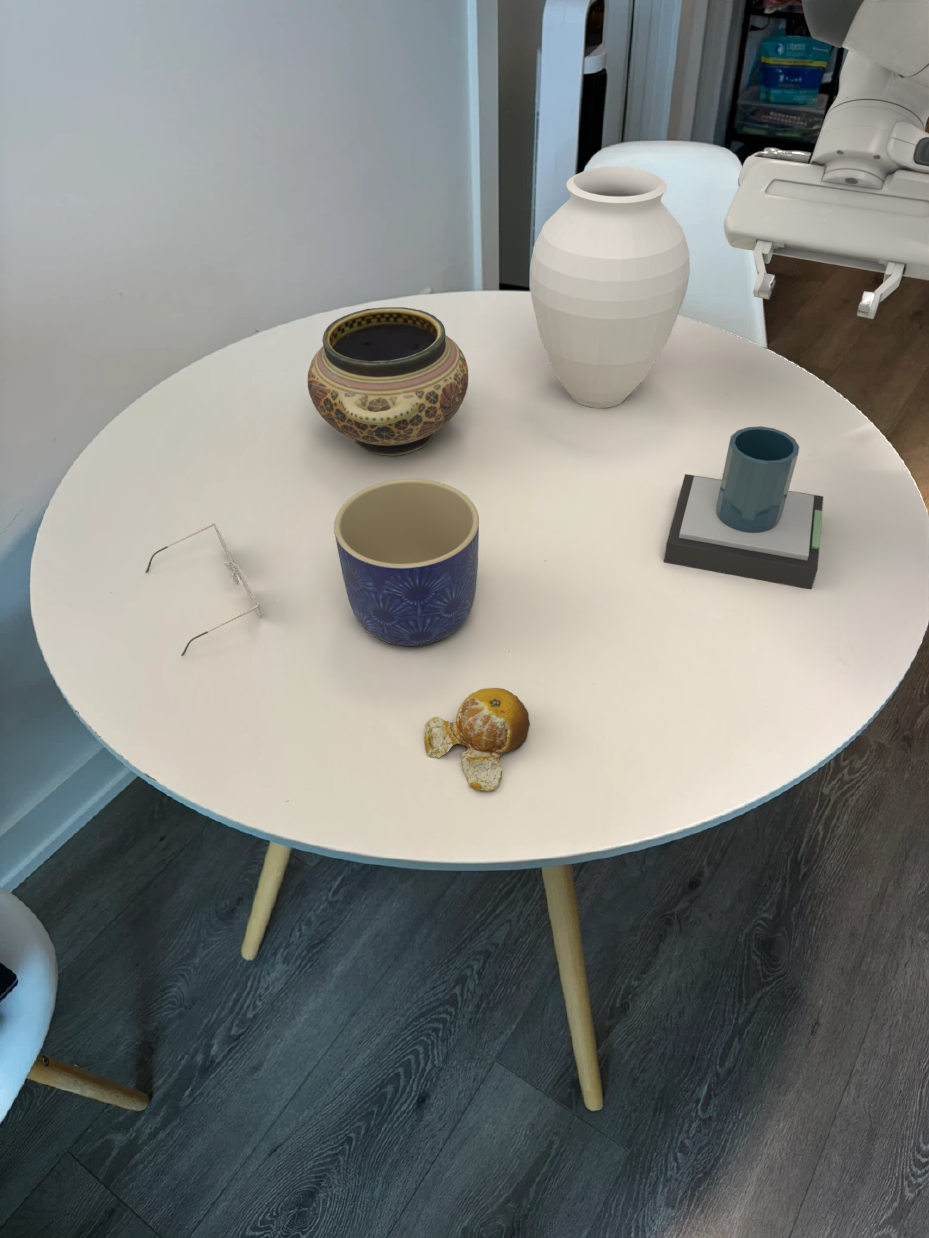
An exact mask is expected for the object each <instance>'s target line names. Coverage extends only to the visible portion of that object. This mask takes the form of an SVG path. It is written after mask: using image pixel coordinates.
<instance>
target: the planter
mask: <svg viewBox="0 0 929 1238" xmlns="http://www.w3.org/2000/svg"><path fill="white" fill-rule="evenodd" d="M333 524H334V525H333V532H334V537H335V542H336V548H337V552H338V559H339V564H340V568H341V574H342V579H343V583H344V587H345V592H346V595H347V598H348V602H349V605H350V607H351V610H352V613H353V615H354V617H355V619H356V621H357V622H358V623H359V625H360V626H361V627H362V628H363V629H364V630H365V631H366V632H368V633H369V634H370V635H371V636H373V637H374V638H377V639H379V640H380V641H383V642H386V643H389V644H392V645H398V646H405V647H406V646H410V647H412V646H414V647H415V646H423V645H428V644H432V643H436V642H438V641H440V640H443V639H446V638H447V637H449V636H450V635H452V634H453V633H455V631H457V630H458V629H459V628H460V627H461V626H463V624H464V623H465V621H466V620H467V619H468V617H469V615H470V613H471V611H472V608H473V605H474V602H475V597H476V591H477V582H478V567H479V542H480V541H479V539H480V538H479V537H480V535H479V533H480V532H479V531H480V516H479V512H478V510H477V507H476V505H475V504H474V503H473V501H472V500H471V499H470V498H469V497H468V496H467V495H466V494H465V493H463V492H462V491H460V490H459V489H457V488H456V487H453V486H452V485H449V484H446V483H443V482H440V481H436V480H435V481H434V480H430V479H423V478H402V479H401V478H400V479H393V480H388V481H383V482H380V483H376V484H374V485H373V484H372V485H371V486H368V487H366V488H364V489H362V490H360V491H358V492H357V493H355V494H354V495H352V496H351V497H350V498H348V499H346V501H345V502H344V503H343V504H342V506H341V507H340V508H339V510H338V511H337V514H336V516H335V519H334V523H333Z"/></svg>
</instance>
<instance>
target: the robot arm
mask: <svg viewBox="0 0 929 1238" xmlns="http://www.w3.org/2000/svg"><path fill="white" fill-rule="evenodd" d="M801 4H802V10H803V15H804V19H805V22H806V25H807V28H808V31H809V33H810V36H811V38H812V39H814V40H817V41H820V42H822V43H825V44H829V45H830V46H833V47H836V48H839V49H841V48H843V49H846V50H848V51H847V54H846V56H845V59H844V61H843V62H844V63H843V65H842V68H841V70H840V74H839V83H838V91H837V96H836V98H835V100H834V101H833V103H832V104H831V105H830V107H829V109H828V110H827V112H826V114H825V117H824V120H823V123H822V125H821V127H820V132H819V133H818V134H819V135H818V137H817V140H816V143H815V146H814V149H813V151H812V152H809V151H802V150H784V149H780V148H777V147H765V148H764V149H763V150H761V151H760V150H759V151H757V152H754V153H752V154H751V155H749V156H747V157H746V159H745V160H744V162H743V165H742V167H741V169H740V173H739V175H738V179H737V186H738V188H737V190H736V192H735V193H734V196H733V199H732V201H731V203H730V205H729V207H728V209H727V212H726V215H725V218H724V221H723V232H724V235H725V238H726V240H727V243H728V244H729V246H730V247H732V248H734V249H739V250H740V249H741V250H745V251H746V250H747V251H753V257H754V258H753V259H754V265H755V269H756V273H757V278H756V281H755V284H754V286H753V291H752V293H753V297H754V298H760V299H765V300H770V299H771V297H772V292H773V290H774V288H775V285H776V275H775V274H772V273H767V270H766V265H767V264H768V265H769V264H770V262H771V260H772V257H773V255H777V256H782V257H788V258H794V259H800V260H806V261H811V262H819V263H824V264H830V265H836V266H840V267H841V266H842V267H847V268H853V269H859V270H863V271H864V270H866V271H870V272H875V273H876V272H877V273H882V274H884V275H883V281H882V284H880V285H879V287H877V288H876V289H875V290H874V291H867V290H863V294H862V295H861V300H860V302H859V304H858V307H857V311H856V316H857V317H862V318H866V319H872V320H873V319H875V316H876V313H877V311H878V307H879V304H880V303H882V302H883V301H884V300H885V299H886V298H887V297H889V296H890V295H891V294H892V293H893V292H894V291H895V290H896V289H897V288H899V286H900V283H901V281H902V277H906V278H912V279H919V280H924V281H929V132H927V131H926V125H927V122H928V119H929V0H801ZM765 264H766V265H765Z"/></svg>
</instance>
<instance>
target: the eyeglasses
mask: <svg viewBox="0 0 929 1238" xmlns="http://www.w3.org/2000/svg"><path fill="white" fill-rule="evenodd" d="M212 527H214V530H215V532H216V535H217V537H218V539H219V542H220V545H221V546H222V549H223V551H224V553H225V556H226V557H227V558H228V560H229V561H224V562H223V565H224V566H225V568H226V569H227V570H228V571H229V572H232V571H233V570H234V572H232V573H231V575H230V577H231V579H232V582H233V584H235V585H236V586H240V581H241V583H242V585H243V587H244V590H245V592H246V594H247V596H248V598H249V600H250V601H251V603H252V605H253V606H252V608H250V609H248V610H246V611H244V612H241V613H240V614H238V615H235V616H234V617H232V618H230V619H228V620H226V621H224V622H223V623H221V624H218V625H216V626H215V627H213V628H211V629H209V630H207V631H205V632H202V633H200V634H198V635H196V636H194V637H192V638H191V639H190V640H189V641H188V642H187V644H186V645H185V647H184V650H183V652H182V653H181V655H180V656H181V657H182V656H184V655H186V652H187V650H188V648H189V646H190V644H191V643H192V642H193V641H194V640H196V639H198V638H200V637H203V636H204V635H207V634H208V633H211V632H212V631H214V630H216V629H218V628H220V627H222V626H225V625H227V624H228V623H230V622H233V621H234V620H237V619H239V618H241V617H243V616H246V615H247V614H250V613H251V612H253V611H256V612H257V615H258V616H259V618H260V619H261V618H262V614H261V610H260V603H259V601H258V600H256V597H255V595H254V592H253V590H252V588H251V586H250V584H249V582H248V580H247V578H246V576H245V575H244V572H243V571H242V569H241V568H240V566H239V565H238V564H236V563H235V562H234V559H233V557H232V554H231V551H230V548H229V546H228V544H227V542H226V540H225V537H223V535H222V532H221V530H220V529H219V527H218V526H217V523H215V522H213V523H212V524H209V525H207V526H204V527H203V528H201V529H198V530H197V531H195V532H193V533H191V534H189V535H187V536H184V537H183V538H180V539H179V540H177V541H175V542H173V543H171V544H168V545H166V546H164V547H162V548H160V549H159V550H157V551H155V552H154V553H153V554H152V555H151V557H150V559H149V562H148V565H147V568H146V570H145V573H147V574H148V573H149V571H150V568H151V565H152V561H153V559H154V557H155V556H156V555H157V554H159V553H161V552H162V551H164V550H166V549H169V548H170V547H171V546H174V545H176V544H178V543H180V542H182V541H185V540H186V539H188V538H190V537H193V536H195V535H197V534H199V533H201V532H204V531H205V530H208V529H210V528H212ZM238 577H239V579H240V580H239V579H238Z"/></svg>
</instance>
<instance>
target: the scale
mask: <svg viewBox="0 0 929 1238" xmlns="http://www.w3.org/2000/svg"><path fill="white" fill-rule="evenodd" d="M721 481H722V479H718V478H712V477H707V476H700V475H694V474H687V473H685V474H684V476H683V480H682V483H681V488H680V490H679V495H678V499H677V503H676V505H675V509H674V514H673V517H672V520H671V525H670V528H669V533H668V536H667V540H666V544H665V550H664V552H665V553H664V557H663V563H668V564H673V565H678V566H683V567H684V566H685V567H689V568H694V569H700V570H704V571H711V572H716V573H721V574H726V575H730V576H731V575H732V576H736V577H737V576H738V577H743V578H748V579H754V580H758V581H759V580H760V581H764V582H770V583H775V584H781V585H785V586H786V585H787V586H790V587H798V588H801V589H802V588H803V589H807V590H812V588H813V585H814V583H815V580H816V576H817V573H818V568H819V558H820V557H819V556H820V547H821V546H820V544H821V533H822V532H821V531H822V521H823V520H822V519H823V518H822V517H823V507H824V506H823V504H824V496H823V495H819V494H818V495H817V494H811V493H806V492H799V491H792V490H788V494H787V497H786V501H785V505H784V509H783V512H782V516H781V518H780V521H779V523H778V525H777V526H776V527H774V528H773V529H771V530H769V531H766V532H760V533H748V532H742V531H738V530H735V529H732V528H730V527H728V526H727V525H725V524H724V523H723V522H722V521H721V520H720V519H719V518H718V516H717V514H716V506H717V501H718V496H719V491H720V486H721Z"/></svg>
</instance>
